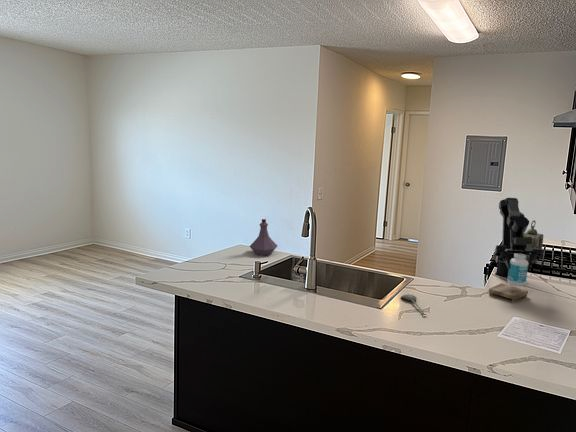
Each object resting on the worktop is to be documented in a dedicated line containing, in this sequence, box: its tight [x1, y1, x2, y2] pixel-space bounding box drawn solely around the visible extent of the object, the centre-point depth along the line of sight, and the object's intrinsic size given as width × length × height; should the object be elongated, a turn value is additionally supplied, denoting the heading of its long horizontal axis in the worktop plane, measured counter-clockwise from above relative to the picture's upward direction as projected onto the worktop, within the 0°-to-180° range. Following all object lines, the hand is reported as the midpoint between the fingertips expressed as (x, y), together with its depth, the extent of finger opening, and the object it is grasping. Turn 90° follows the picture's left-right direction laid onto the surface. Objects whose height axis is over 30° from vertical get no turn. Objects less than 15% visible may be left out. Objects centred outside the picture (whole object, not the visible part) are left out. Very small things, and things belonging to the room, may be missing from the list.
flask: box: [249, 218, 278, 256], centre depth 260 cm, size 16×16×20 cm
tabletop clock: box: [524, 219, 544, 268], centre depth 247 cm, size 14×9×25 cm, turn 137°
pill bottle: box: [507, 253, 529, 287], centre depth 200 cm, size 8×7×14 cm
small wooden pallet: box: [488, 282, 529, 304], centre depth 203 cm, size 12×12×3 cm
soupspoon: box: [400, 293, 427, 316], centre depth 190 cm, size 22×3×7 cm
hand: (518, 269), depth 198 cm, fingers closed on pill bottle, 7 cm apart
